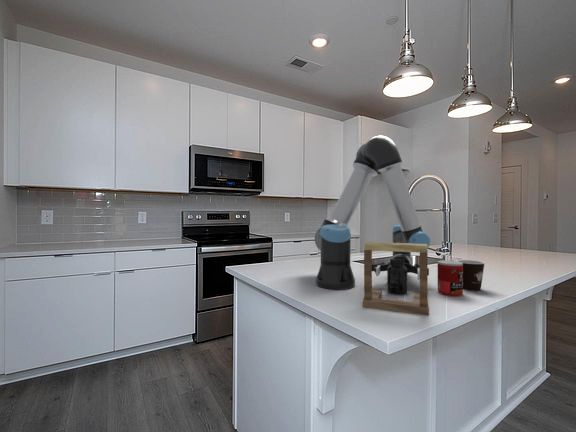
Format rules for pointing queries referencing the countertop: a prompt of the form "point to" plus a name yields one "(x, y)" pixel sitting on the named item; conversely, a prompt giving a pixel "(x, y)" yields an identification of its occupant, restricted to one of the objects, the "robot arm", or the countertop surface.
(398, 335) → the countertop surface
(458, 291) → the canned food
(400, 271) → the supplement bottle
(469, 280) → the coffee mug
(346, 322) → the countertop surface
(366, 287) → the notched shelf
